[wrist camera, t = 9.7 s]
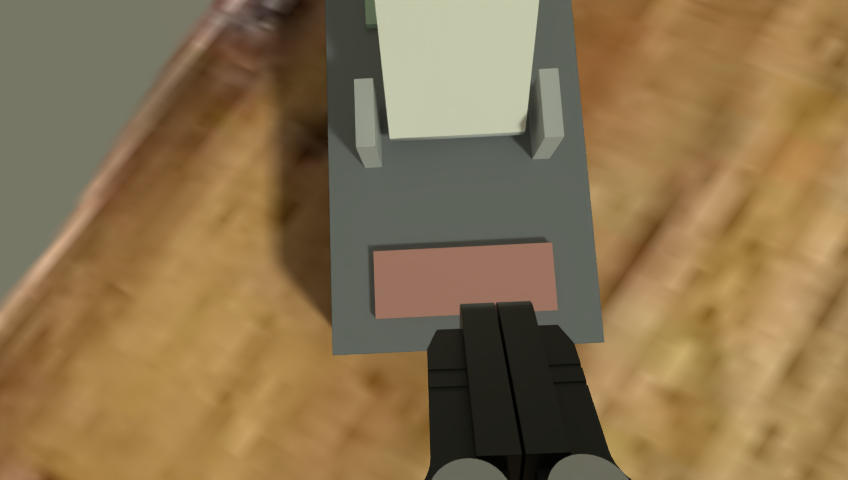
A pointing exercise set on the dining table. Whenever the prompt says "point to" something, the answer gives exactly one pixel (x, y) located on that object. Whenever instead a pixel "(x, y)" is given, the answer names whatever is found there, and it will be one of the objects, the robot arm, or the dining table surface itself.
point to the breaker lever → (456, 66)
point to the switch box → (455, 201)
